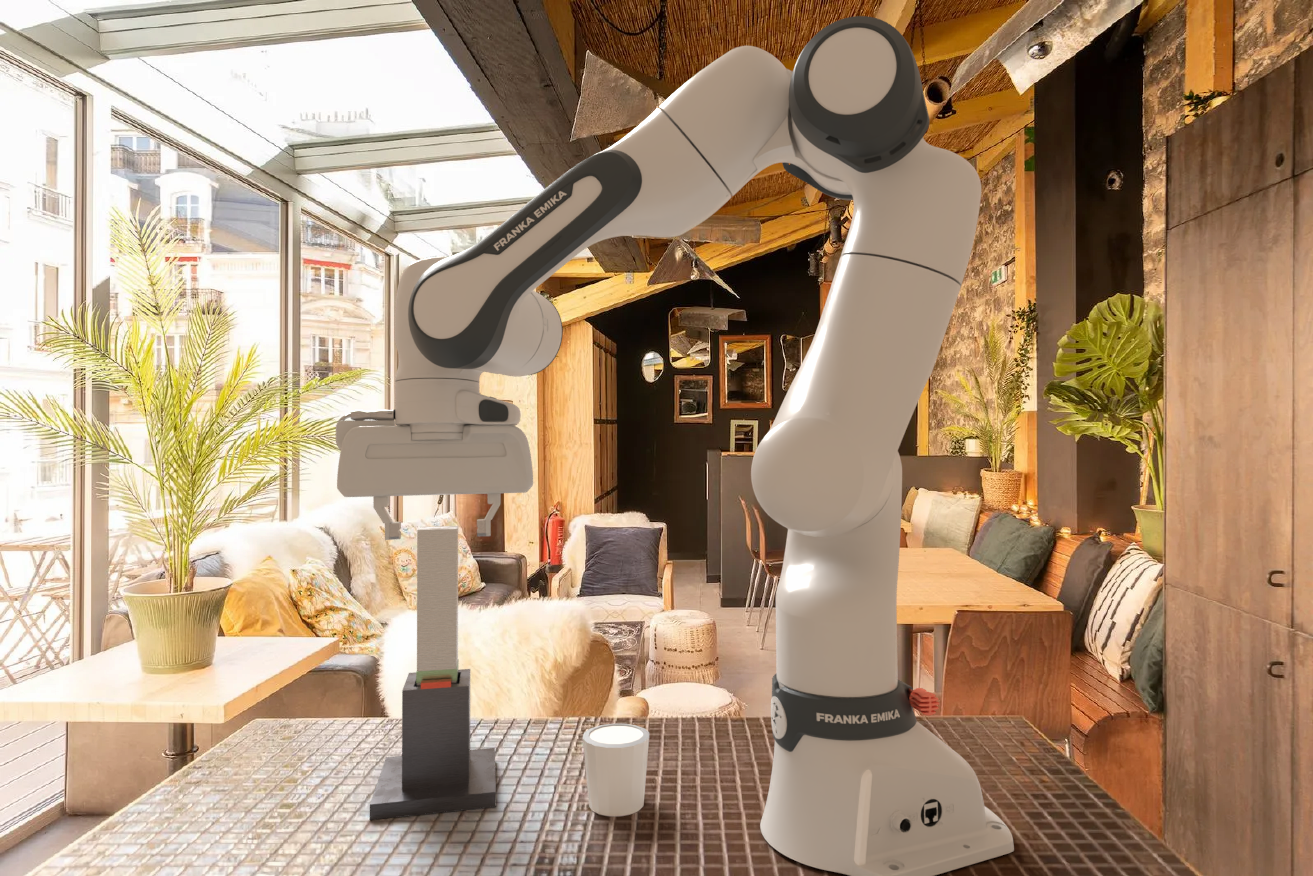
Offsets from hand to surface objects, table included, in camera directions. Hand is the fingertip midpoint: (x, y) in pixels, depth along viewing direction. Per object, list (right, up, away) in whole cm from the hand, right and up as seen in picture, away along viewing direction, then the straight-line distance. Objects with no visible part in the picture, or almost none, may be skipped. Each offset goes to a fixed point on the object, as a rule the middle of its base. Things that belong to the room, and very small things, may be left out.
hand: (439, 537), depth 81 cm
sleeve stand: (0, -27, -1) cm, 27 cm away
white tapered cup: (+19, -27, -5) cm, 33 cm away
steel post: (0, -17, -1) cm, 17 cm away
